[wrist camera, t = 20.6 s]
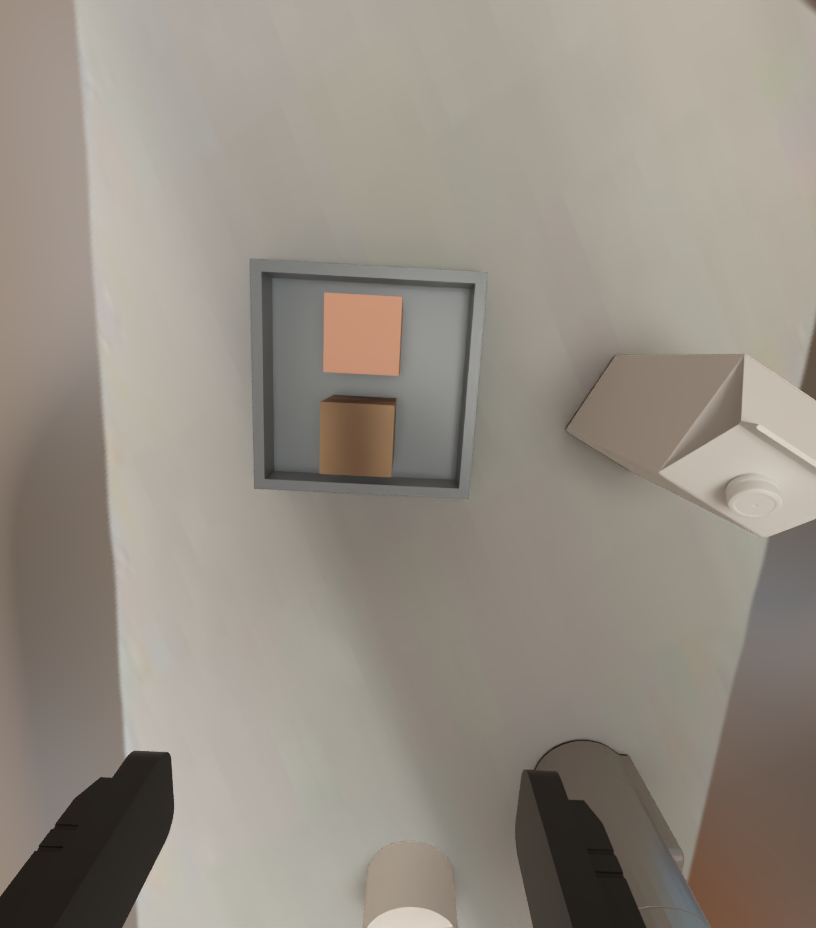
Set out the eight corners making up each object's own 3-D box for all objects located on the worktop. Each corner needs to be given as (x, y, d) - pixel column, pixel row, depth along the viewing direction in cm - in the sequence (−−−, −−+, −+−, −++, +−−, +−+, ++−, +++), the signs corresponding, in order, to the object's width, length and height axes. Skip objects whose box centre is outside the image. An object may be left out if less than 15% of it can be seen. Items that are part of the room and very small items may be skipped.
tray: (480, 279, 37) (487, 272, 33) (463, 487, 40) (468, 499, 37) (264, 267, 36) (249, 258, 33) (267, 477, 40) (254, 488, 37)
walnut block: (396, 398, 38) (394, 405, 32) (393, 459, 39) (391, 477, 33) (333, 394, 38) (320, 401, 32) (332, 456, 39) (319, 473, 33)
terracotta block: (403, 306, 36) (402, 296, 30) (399, 373, 37) (398, 376, 31) (337, 302, 36) (324, 292, 30) (336, 369, 37) (323, 372, 31)
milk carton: (614, 354, 38) (814, 351, 19) (685, 399, 39) (941, 439, 20) (563, 430, 39) (704, 495, 21) (632, 472, 40) (828, 572, 21)
